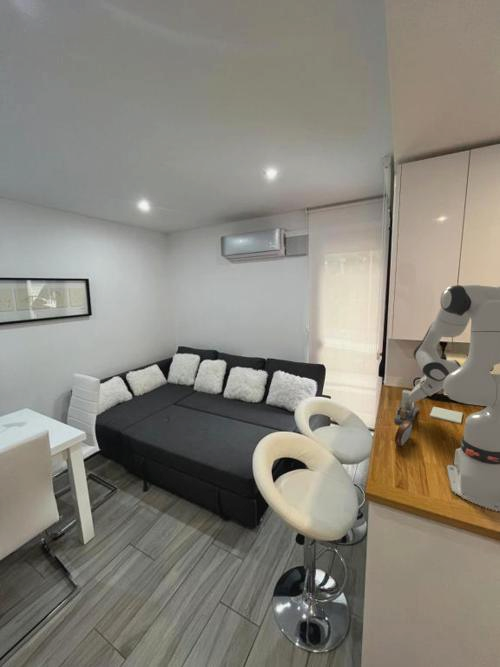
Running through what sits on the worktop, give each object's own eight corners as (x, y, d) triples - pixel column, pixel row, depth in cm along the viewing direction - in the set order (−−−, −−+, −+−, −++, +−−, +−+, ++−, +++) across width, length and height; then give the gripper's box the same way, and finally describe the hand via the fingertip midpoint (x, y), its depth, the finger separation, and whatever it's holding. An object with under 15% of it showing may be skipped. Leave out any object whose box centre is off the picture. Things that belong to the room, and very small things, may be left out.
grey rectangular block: (411, 410, 138) (413, 394, 137) (401, 408, 142) (402, 392, 140) (413, 408, 141) (414, 391, 140) (402, 405, 145) (403, 389, 143)
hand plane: (409, 426, 132) (410, 414, 131) (394, 422, 137) (394, 410, 136) (418, 410, 149) (418, 399, 148) (403, 407, 153) (404, 396, 152)
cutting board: (460, 424, 133) (461, 422, 133) (429, 416, 142) (429, 415, 141) (462, 414, 143) (462, 412, 143) (433, 407, 151) (433, 406, 151)
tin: (405, 433, 127) (406, 417, 125) (412, 436, 124) (414, 419, 123) (393, 447, 117) (394, 429, 115) (401, 450, 114) (402, 431, 113)
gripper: (428, 374, 142) (406, 387, 150) (421, 384, 127) (397, 399, 135) (437, 383, 140) (415, 397, 148) (432, 395, 125) (406, 410, 133)
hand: (406, 398), depth 141 cm, fingers closed on grey rectangular block, 4 cm apart
